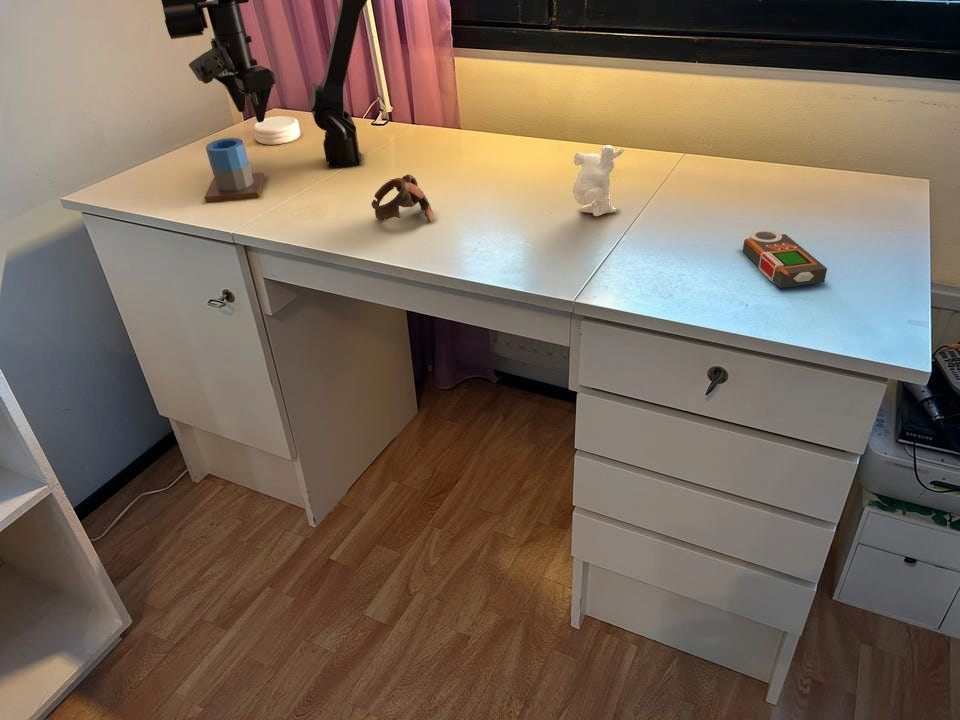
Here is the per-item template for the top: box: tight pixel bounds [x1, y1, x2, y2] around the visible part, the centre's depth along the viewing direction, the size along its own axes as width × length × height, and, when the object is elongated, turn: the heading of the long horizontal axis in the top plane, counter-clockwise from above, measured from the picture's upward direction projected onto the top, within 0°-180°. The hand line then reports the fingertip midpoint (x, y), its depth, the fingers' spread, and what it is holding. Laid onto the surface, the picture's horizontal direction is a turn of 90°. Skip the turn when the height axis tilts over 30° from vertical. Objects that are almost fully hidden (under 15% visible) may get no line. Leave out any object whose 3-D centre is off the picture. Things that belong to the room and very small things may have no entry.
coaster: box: [253, 115, 301, 146], centre depth 166 cm, size 10×10×4 cm
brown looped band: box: [371, 174, 434, 223], centre depth 128 cm, size 12×10×8 cm
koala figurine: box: [572, 144, 625, 217], centre depth 124 cm, size 8×7×12 cm
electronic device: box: [742, 229, 828, 289], centre depth 109 cm, size 7×3×15 cm
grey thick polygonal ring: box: [211, 160, 253, 191], centre depth 142 cm, size 7×7×4 cm
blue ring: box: [205, 137, 249, 172], centre depth 140 cm, size 7×7×4 cm
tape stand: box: [203, 172, 266, 204], centre depth 141 cm, size 10×10×8 cm
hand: (251, 116), depth 143 cm, fingers open, 9 cm apart
